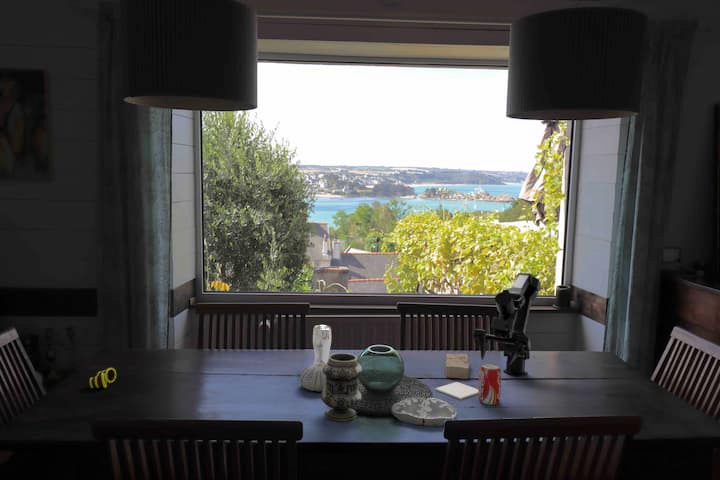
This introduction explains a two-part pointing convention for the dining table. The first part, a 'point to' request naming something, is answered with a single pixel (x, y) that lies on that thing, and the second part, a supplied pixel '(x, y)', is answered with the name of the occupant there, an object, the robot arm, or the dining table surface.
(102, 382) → the yellow coil spring
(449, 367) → the brick
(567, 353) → the dining table surface
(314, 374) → the sea urchin shell
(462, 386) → the pad
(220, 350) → the dining table surface
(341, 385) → the apothecary jar
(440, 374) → the dining table surface
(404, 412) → the brain slice
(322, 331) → the beer glass
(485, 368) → the soda can
